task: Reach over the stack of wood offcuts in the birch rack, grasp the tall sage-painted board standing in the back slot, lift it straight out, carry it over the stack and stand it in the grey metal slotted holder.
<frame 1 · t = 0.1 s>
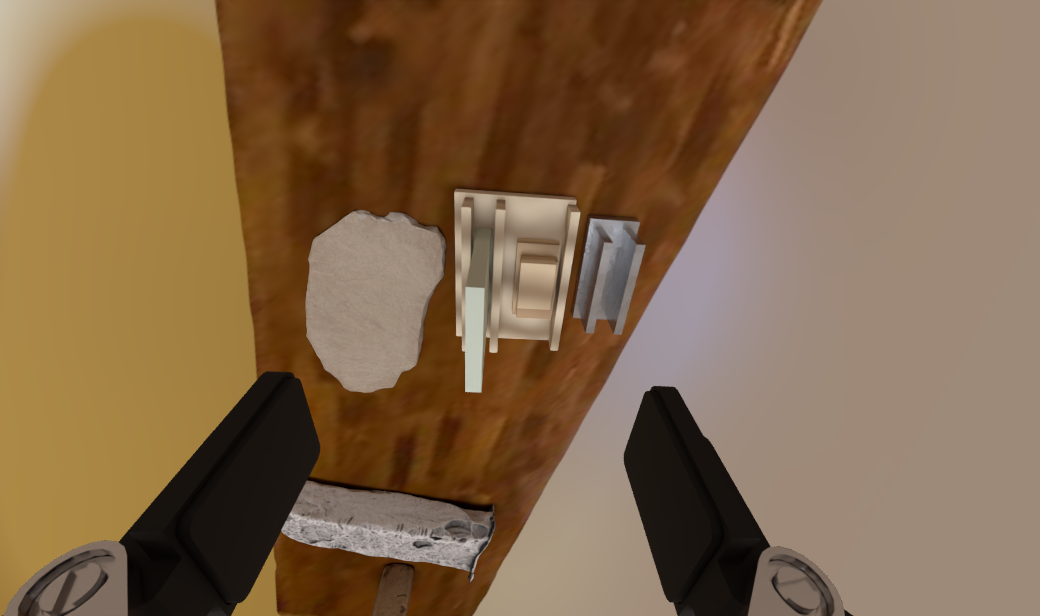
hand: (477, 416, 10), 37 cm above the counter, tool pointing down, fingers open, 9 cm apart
offcut stack: (533, 276, 47), point 1 cm above the counter, touching rack
grey-green panel: (483, 273, 47), point 1 cm above the counter, touching rack
block: (399, 571, 90), on the counter
concrete block: (396, 506, 76), on the counter
stone tablet: (371, 305, 51), on the counter
rack: (510, 269, 48), on the counter
stand: (601, 268, 49), on the counter
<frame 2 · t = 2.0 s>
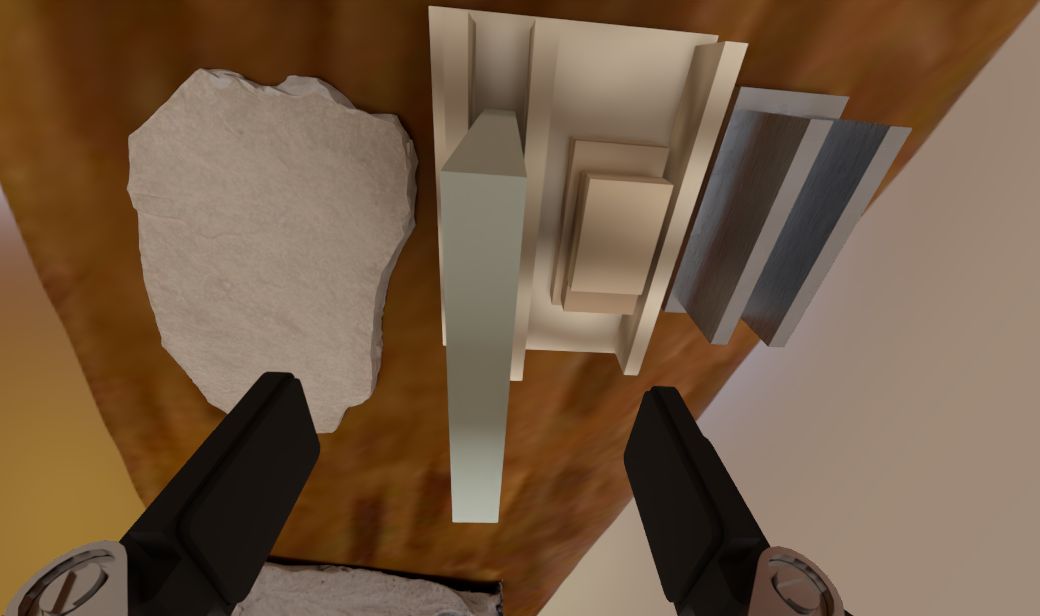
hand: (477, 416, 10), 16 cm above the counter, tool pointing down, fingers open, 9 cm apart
offcut stack: (598, 226, 23), point 1 cm above the counter, touching rack
grey-green panel: (495, 219, 23), point 1 cm above the counter, touching rack
concrete block: (361, 581, 53), on the counter
stone tablet: (281, 288, 27), on the counter
rack: (549, 215, 24), on the counter
stand: (730, 213, 24), on the counter
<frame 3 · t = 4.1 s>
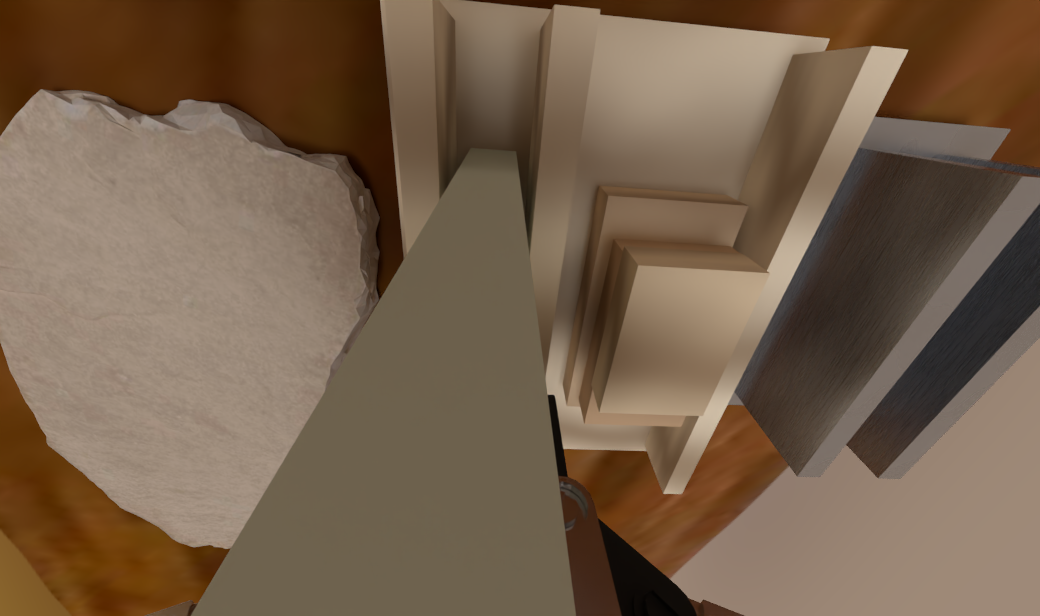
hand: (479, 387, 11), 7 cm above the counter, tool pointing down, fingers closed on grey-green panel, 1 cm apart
offcut stack: (632, 303, 17), point 1 cm above the counter, touching rack
grey-green panel: (488, 296, 16), point 2 cm above the counter, touching gripper, rack
stone tablet: (206, 372, 21), on the counter
rack: (562, 284, 18), on the counter
stand: (809, 279, 18), on the counter
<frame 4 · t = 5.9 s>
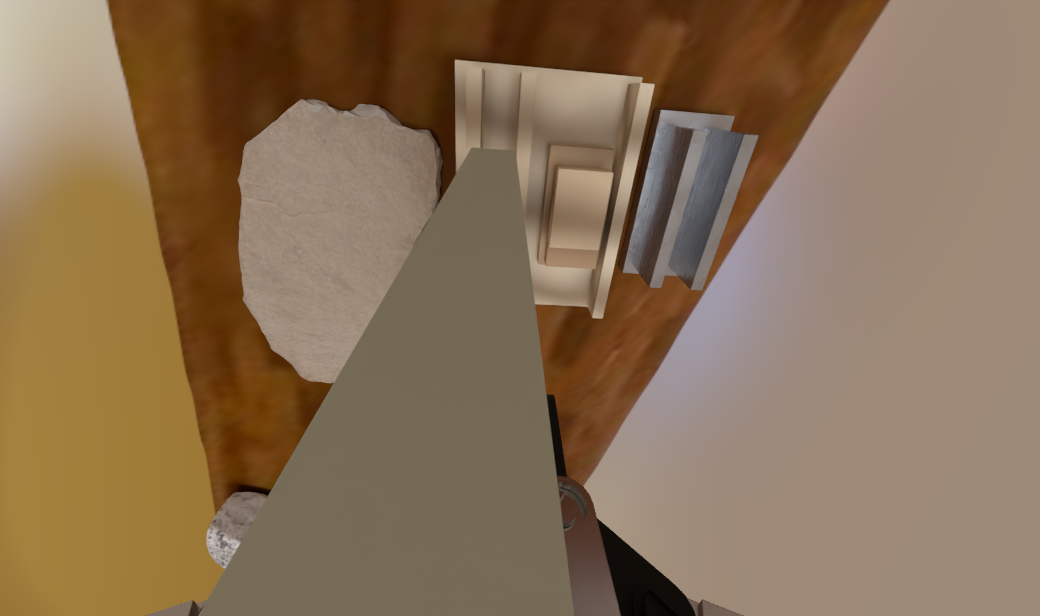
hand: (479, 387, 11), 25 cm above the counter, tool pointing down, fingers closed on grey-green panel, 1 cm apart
offcut stack: (570, 206, 32), point 1 cm above the counter, touching rack
grey-green panel: (488, 293, 16), point 19 cm above the counter, touching gripper
concrete block: (372, 528, 60), on the counter
stone tablet: (335, 257, 36), on the counter
rack: (535, 200, 33), on the counter
stand: (666, 198, 34), on the counter
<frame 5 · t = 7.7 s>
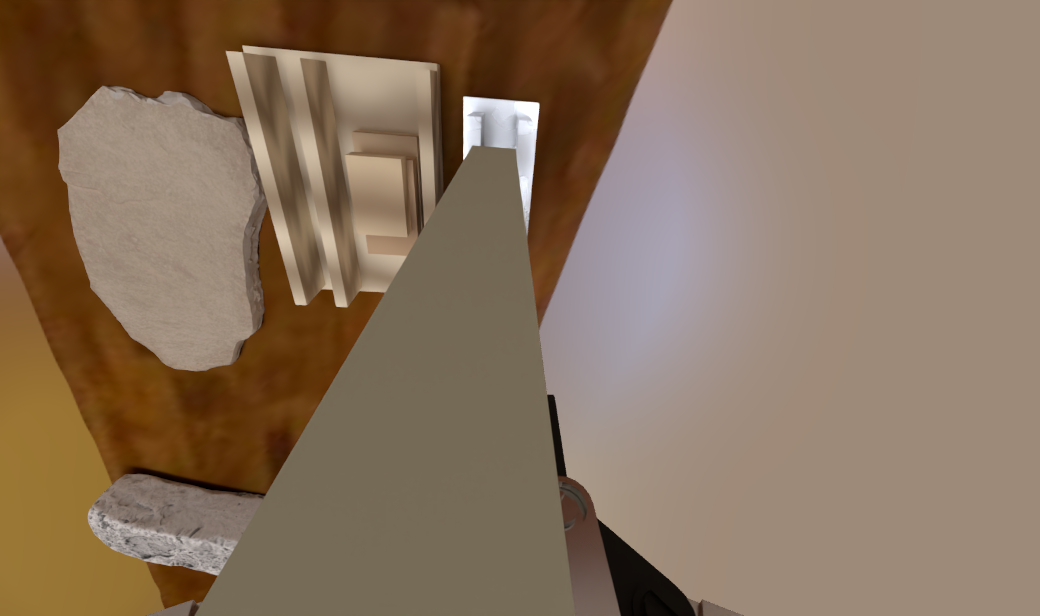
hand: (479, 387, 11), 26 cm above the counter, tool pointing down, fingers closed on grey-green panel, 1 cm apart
offcut stack: (395, 194, 33), point 1 cm above the counter, touching rack
grey-green panel: (488, 288, 17), point 20 cm above the counter, touching gripper
concrete block: (277, 513, 61), on the counter
stone tablet: (181, 245, 37), on the counter
rack: (366, 188, 34), on the counter
stand: (498, 186, 34), on the counter
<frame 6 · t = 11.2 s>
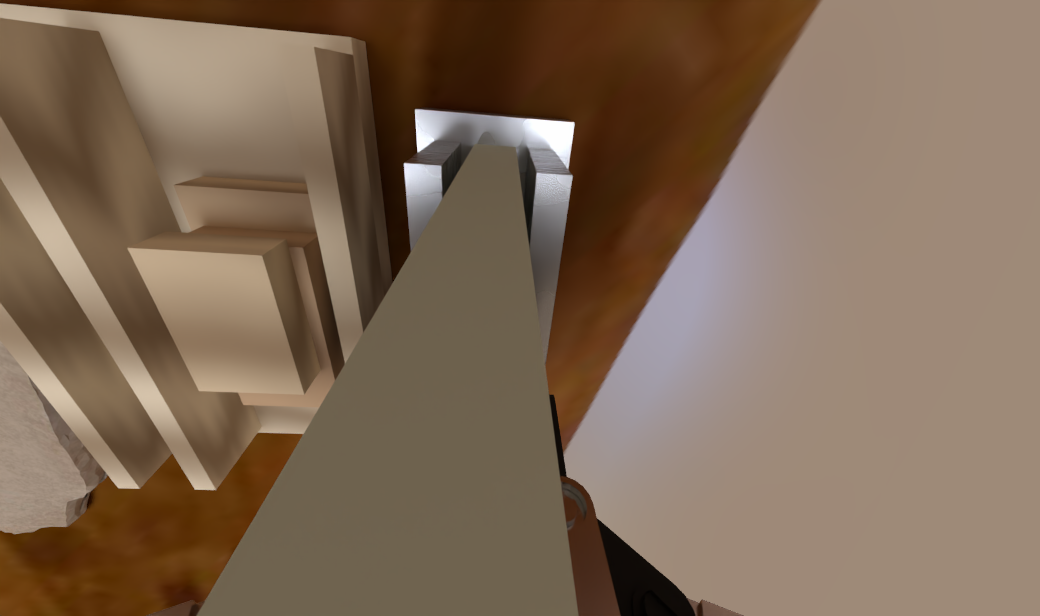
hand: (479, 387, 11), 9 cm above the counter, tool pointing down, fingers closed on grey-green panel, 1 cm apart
offcut stack: (297, 290, 17), point 1 cm above the counter, touching rack
grey-green panel: (489, 282, 17), point 2 cm above the counter, touching gripper, stand
rack: (250, 273, 18), on the counter
stand: (490, 268, 19), on the counter
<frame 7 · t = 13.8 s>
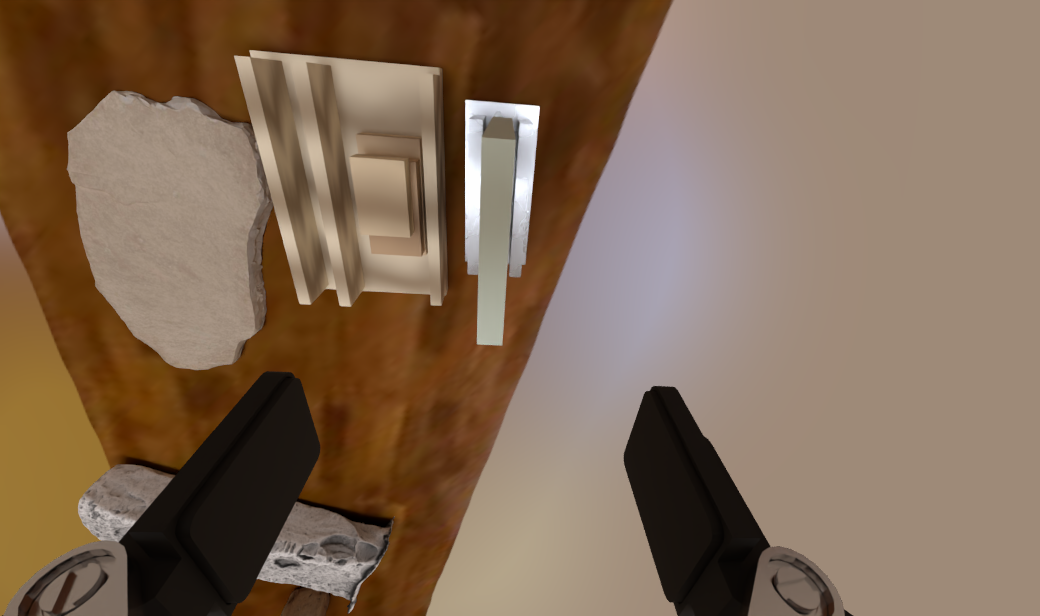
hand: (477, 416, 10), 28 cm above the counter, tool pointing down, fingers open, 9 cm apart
offcut stack: (398, 195, 33), point 1 cm above the counter, touching rack
grey-green panel: (498, 191, 33), point 1 cm above the counter, touching stand
block: (313, 595, 75), on the counter
concrete block: (268, 509, 60), on the counter
stone tablet: (185, 246, 37), on the counter
rack: (369, 189, 34), on the counter
stand: (499, 187, 34), on the counter
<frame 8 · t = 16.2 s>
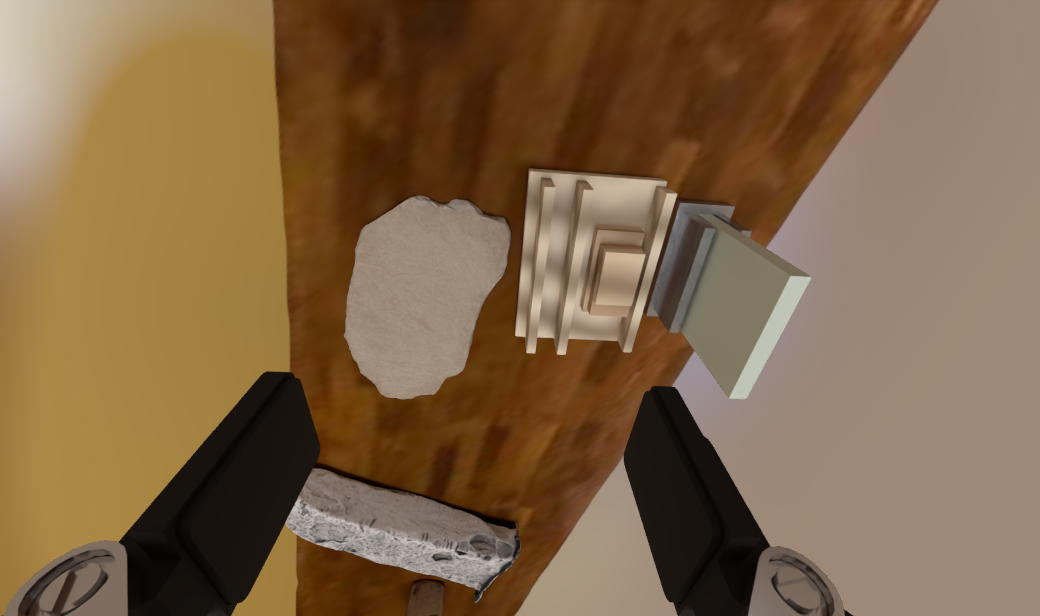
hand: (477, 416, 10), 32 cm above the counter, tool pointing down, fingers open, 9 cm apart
offcut stack: (608, 268, 42), point 1 cm above the counter, touching rack
grey-green panel: (687, 265, 42), point 1 cm above the counter, touching stand
block: (427, 587, 84), on the counter
concrete block: (411, 509, 69), on the counter
stone tablet: (418, 303, 46), on the counter
rack: (580, 262, 43), on the counter
stand: (681, 260, 43), on the counter
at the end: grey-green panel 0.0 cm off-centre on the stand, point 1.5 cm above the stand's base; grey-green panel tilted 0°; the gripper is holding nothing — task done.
